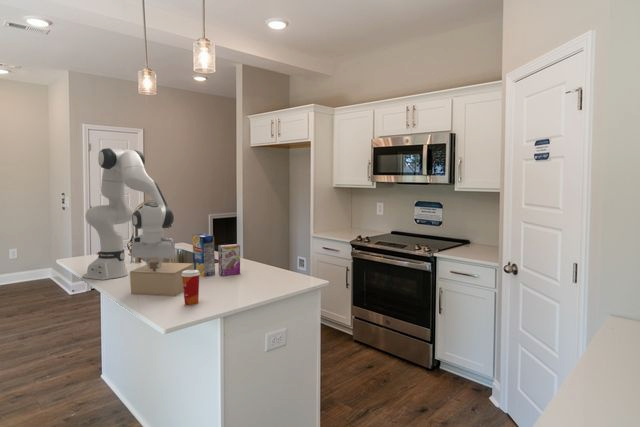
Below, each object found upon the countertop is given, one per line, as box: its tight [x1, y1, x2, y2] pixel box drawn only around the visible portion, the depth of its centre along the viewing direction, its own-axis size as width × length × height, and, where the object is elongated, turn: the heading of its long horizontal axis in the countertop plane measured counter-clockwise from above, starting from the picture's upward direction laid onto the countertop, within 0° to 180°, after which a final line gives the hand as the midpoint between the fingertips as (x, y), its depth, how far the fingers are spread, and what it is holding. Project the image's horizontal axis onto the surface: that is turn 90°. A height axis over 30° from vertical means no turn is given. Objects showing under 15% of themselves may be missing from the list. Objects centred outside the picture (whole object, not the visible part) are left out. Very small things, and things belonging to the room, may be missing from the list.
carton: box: [129, 265, 194, 297], centre depth 202 cm, size 22×20×10 cm
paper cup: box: [181, 270, 200, 306], centre depth 180 cm, size 8×8×14 cm
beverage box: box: [192, 233, 216, 278], centre depth 231 cm, size 7×11×22 cm, turn 47°
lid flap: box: [129, 261, 194, 274], centre depth 201 cm, size 22×20×5 cm
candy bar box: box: [217, 243, 241, 277], centre depth 231 cm, size 11×5×16 cm, turn 124°
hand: (154, 267), depth 193 cm, fingers closed on lid flap, 3 cm apart
